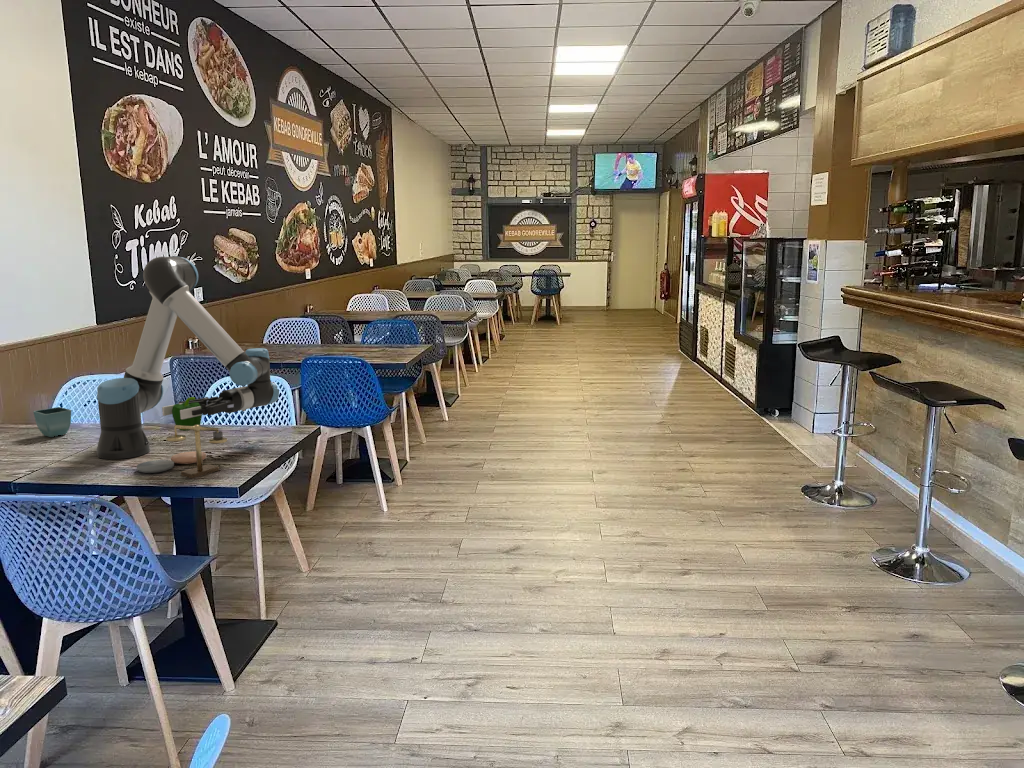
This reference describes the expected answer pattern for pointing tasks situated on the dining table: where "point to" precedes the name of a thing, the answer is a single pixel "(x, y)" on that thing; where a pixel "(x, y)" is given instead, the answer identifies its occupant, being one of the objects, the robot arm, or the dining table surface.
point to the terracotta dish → (186, 457)
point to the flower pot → (53, 421)
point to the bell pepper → (187, 421)
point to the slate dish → (155, 466)
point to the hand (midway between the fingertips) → (172, 413)
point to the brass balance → (198, 449)
